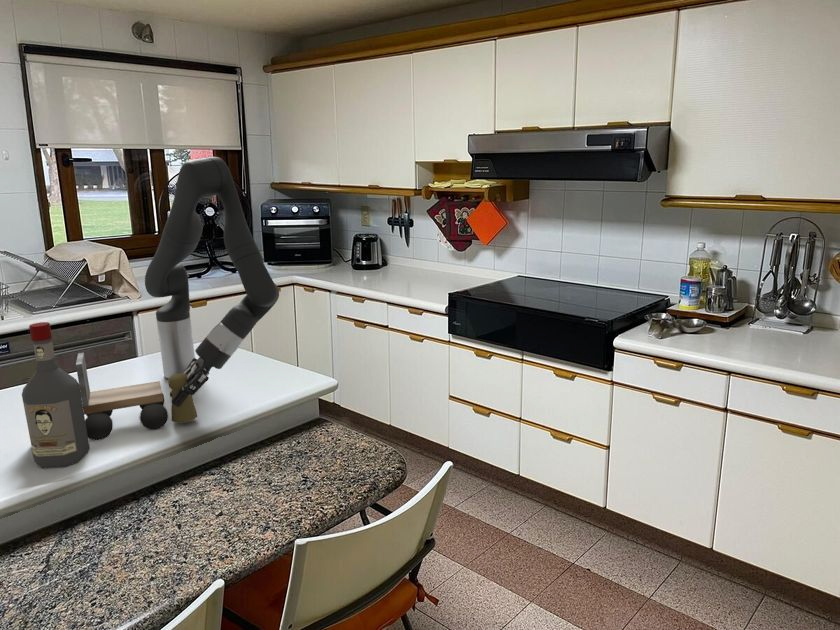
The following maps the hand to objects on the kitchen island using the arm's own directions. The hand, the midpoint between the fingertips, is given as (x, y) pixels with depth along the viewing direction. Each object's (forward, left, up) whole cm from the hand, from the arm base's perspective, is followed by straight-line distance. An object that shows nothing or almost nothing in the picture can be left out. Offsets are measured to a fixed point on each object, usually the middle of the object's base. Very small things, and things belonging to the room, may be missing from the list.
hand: (173, 400), depth 154 cm
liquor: (+8, -24, -6) cm, 26 cm away
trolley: (-6, -11, -6) cm, 14 cm away
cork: (0, +2, -5) cm, 5 cm away
